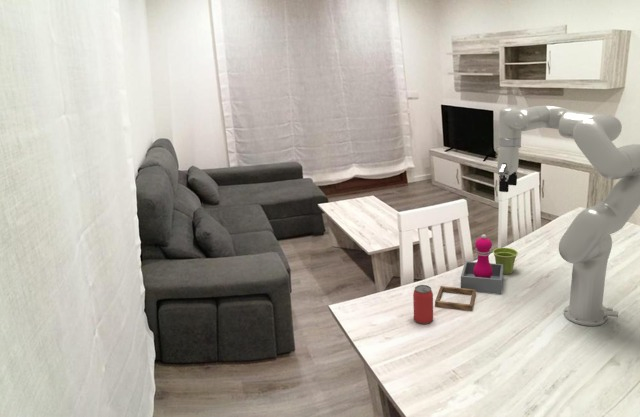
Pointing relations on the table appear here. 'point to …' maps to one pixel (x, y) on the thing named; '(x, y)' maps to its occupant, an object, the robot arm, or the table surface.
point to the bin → (482, 279)
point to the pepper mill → (483, 258)
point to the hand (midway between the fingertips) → (507, 188)
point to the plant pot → (505, 258)
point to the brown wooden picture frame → (455, 305)
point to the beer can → (423, 304)
